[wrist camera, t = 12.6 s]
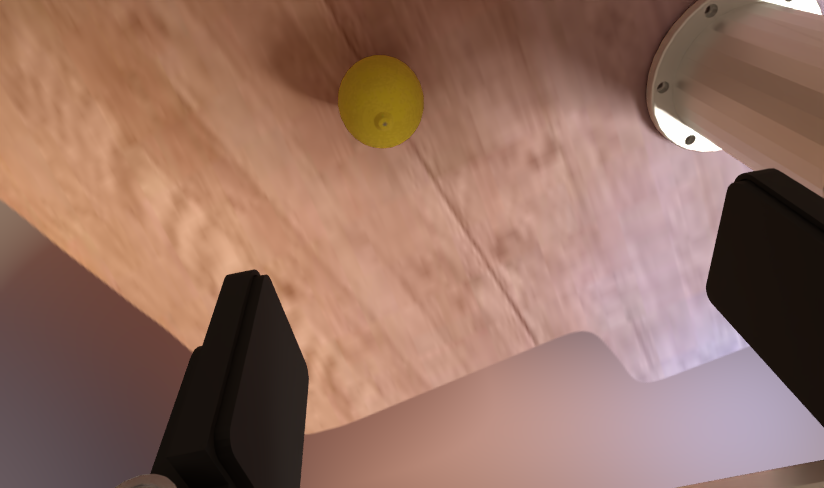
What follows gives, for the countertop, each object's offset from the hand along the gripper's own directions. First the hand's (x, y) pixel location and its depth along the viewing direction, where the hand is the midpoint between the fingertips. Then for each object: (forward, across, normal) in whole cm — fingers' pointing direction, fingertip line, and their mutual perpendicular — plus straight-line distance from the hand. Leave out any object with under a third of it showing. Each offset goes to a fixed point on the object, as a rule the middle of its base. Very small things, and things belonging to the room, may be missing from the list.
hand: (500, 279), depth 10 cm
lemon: (+28, +2, +4) cm, 29 cm away
